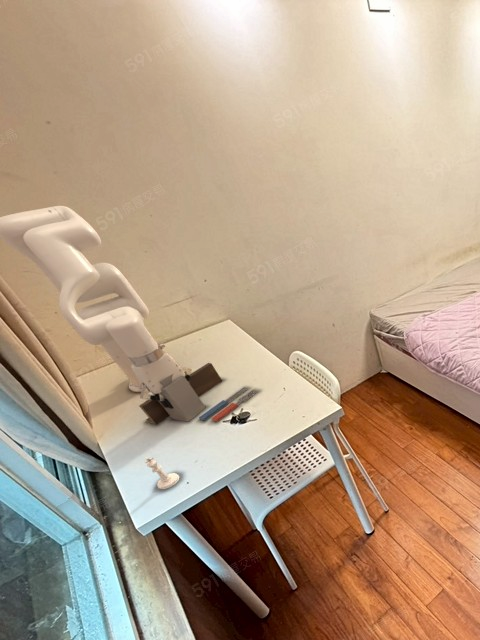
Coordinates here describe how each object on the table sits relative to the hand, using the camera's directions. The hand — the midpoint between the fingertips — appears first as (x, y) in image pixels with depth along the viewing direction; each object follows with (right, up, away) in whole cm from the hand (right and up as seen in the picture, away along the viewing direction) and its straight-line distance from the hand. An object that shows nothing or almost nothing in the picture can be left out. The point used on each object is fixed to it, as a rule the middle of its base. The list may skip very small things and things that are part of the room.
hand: (180, 400), depth 125 cm
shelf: (-5, 0, +9) cm, 10 cm away
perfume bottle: (0, -5, +4) cm, 6 cm away
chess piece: (+13, -21, -19) cm, 31 cm away
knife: (+10, -2, +6) cm, 12 cm away
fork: (+14, -2, +5) cm, 15 cm away
